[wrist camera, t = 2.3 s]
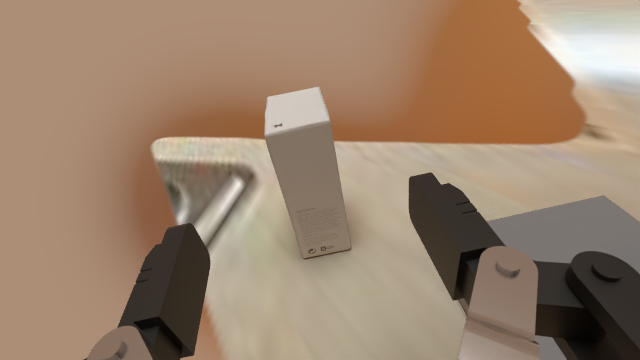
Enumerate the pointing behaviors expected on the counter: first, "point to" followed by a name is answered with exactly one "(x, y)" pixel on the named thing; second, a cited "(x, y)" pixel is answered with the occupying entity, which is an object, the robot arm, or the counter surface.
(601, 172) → the counter surface
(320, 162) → the skincare box
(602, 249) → the slate tile
